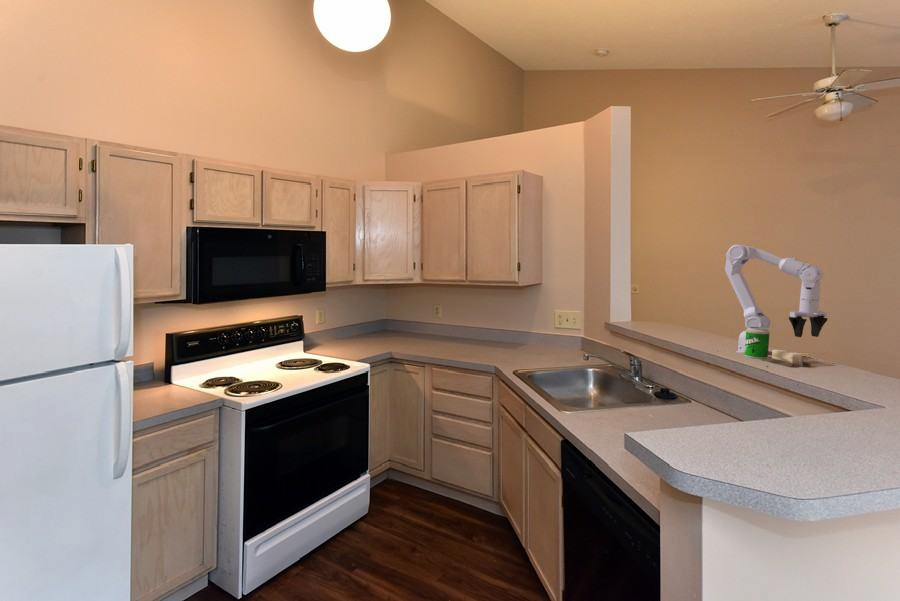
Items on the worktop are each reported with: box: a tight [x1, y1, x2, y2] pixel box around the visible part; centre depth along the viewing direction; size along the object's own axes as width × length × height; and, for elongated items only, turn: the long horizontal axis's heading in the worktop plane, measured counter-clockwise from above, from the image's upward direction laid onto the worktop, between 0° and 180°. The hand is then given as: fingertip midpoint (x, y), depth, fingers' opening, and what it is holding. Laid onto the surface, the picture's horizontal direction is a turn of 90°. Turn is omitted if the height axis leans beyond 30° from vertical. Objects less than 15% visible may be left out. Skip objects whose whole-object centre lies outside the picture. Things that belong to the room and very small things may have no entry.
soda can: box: [743, 327, 771, 360], centre depth 184 cm, size 8×8×12 cm
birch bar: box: [771, 349, 803, 366], centre depth 174 cm, size 8×4×4 cm, turn 14°
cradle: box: [761, 356, 837, 368], centre depth 175 cm, size 12×20×4 cm, turn 104°
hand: (806, 336), depth 181 cm, fingers open, 7 cm apart
